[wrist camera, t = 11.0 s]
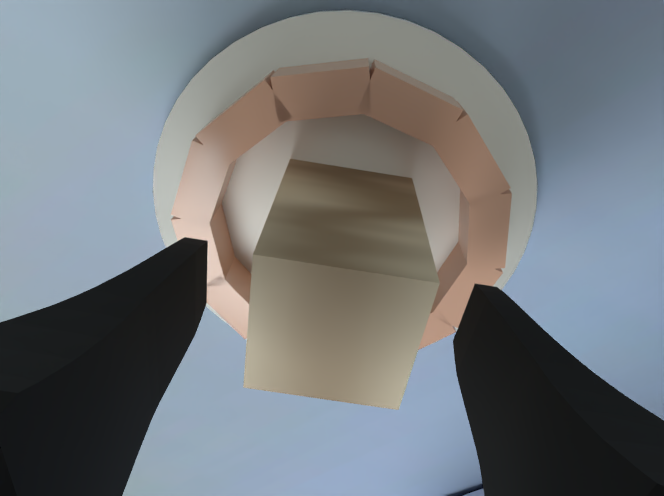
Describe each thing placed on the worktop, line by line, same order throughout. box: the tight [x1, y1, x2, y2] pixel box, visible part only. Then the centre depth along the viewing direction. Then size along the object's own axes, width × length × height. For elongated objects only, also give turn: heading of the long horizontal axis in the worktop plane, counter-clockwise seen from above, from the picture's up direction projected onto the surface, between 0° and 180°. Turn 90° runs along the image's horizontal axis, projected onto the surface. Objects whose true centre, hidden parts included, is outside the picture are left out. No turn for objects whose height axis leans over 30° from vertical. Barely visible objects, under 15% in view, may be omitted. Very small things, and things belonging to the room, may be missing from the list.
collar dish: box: [153, 10, 537, 350], centre depth 16 cm, size 13×13×2 cm
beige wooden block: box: [244, 159, 440, 410], centre depth 13 cm, size 4×4×6 cm
